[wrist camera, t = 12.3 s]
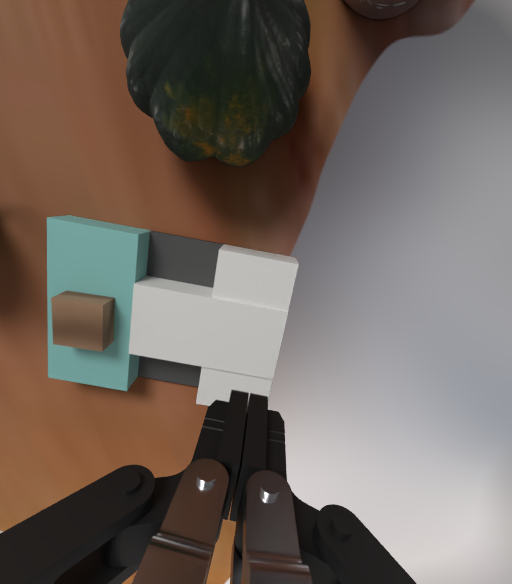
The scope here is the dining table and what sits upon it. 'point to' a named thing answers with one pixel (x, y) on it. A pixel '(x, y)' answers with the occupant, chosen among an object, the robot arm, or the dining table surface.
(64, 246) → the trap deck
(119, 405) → the dining table surface
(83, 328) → the walnut block
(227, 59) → the squash
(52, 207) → the dining table surface
